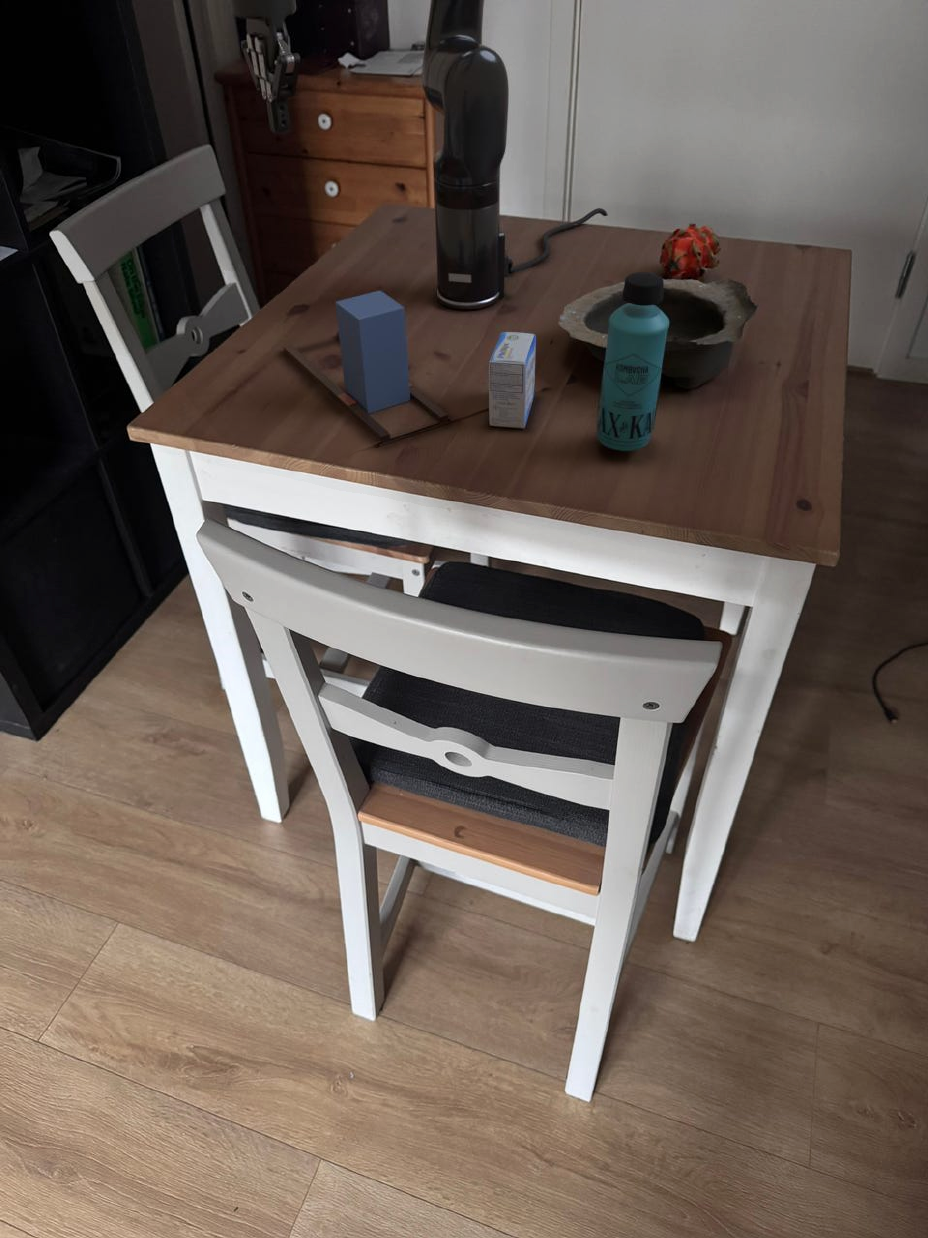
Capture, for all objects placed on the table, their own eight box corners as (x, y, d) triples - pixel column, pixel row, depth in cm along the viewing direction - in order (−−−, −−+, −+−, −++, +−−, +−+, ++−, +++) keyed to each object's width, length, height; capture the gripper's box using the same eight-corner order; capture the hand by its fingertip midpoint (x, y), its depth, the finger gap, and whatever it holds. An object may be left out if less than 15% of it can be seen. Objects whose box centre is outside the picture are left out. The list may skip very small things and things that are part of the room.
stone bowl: (775, 398, 111) (786, 328, 105) (575, 422, 111) (574, 353, 105) (719, 312, 129) (726, 247, 123) (547, 332, 129) (545, 269, 123)
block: (387, 381, 115) (380, 289, 107) (410, 400, 112) (404, 307, 104) (345, 394, 113) (335, 301, 105) (367, 414, 109) (358, 319, 101)
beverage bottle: (589, 435, 106) (604, 265, 93) (644, 432, 106) (668, 262, 93) (600, 465, 101) (618, 291, 88) (657, 461, 102) (684, 288, 88)
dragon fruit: (709, 276, 145) (669, 310, 139) (674, 236, 144) (632, 269, 139) (743, 242, 137) (702, 277, 132) (706, 199, 137) (663, 233, 131)
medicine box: (524, 430, 107) (527, 362, 101) (488, 426, 108) (488, 359, 102) (534, 398, 113) (537, 332, 107) (499, 395, 114) (500, 329, 108)
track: (347, 338, 126) (346, 328, 125) (451, 422, 109) (451, 412, 108) (282, 356, 123) (280, 346, 122) (379, 447, 105) (378, 436, 104)
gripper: (312, -32, 99) (330, 140, 111) (265, -44, 107) (287, 117, 119) (249, -26, 96) (274, 150, 108) (205, -39, 105) (233, 126, 116)
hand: (281, 132), depth 114 cm, fingers closed
